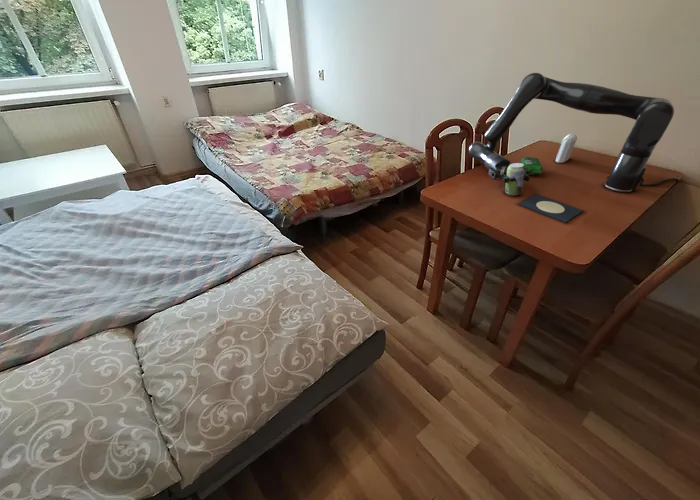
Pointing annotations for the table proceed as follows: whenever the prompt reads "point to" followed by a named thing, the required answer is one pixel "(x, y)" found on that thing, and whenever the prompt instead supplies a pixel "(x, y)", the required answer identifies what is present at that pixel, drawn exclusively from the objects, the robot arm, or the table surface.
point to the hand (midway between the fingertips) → (518, 180)
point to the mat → (551, 208)
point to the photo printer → (566, 148)
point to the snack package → (532, 165)
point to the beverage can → (515, 178)
